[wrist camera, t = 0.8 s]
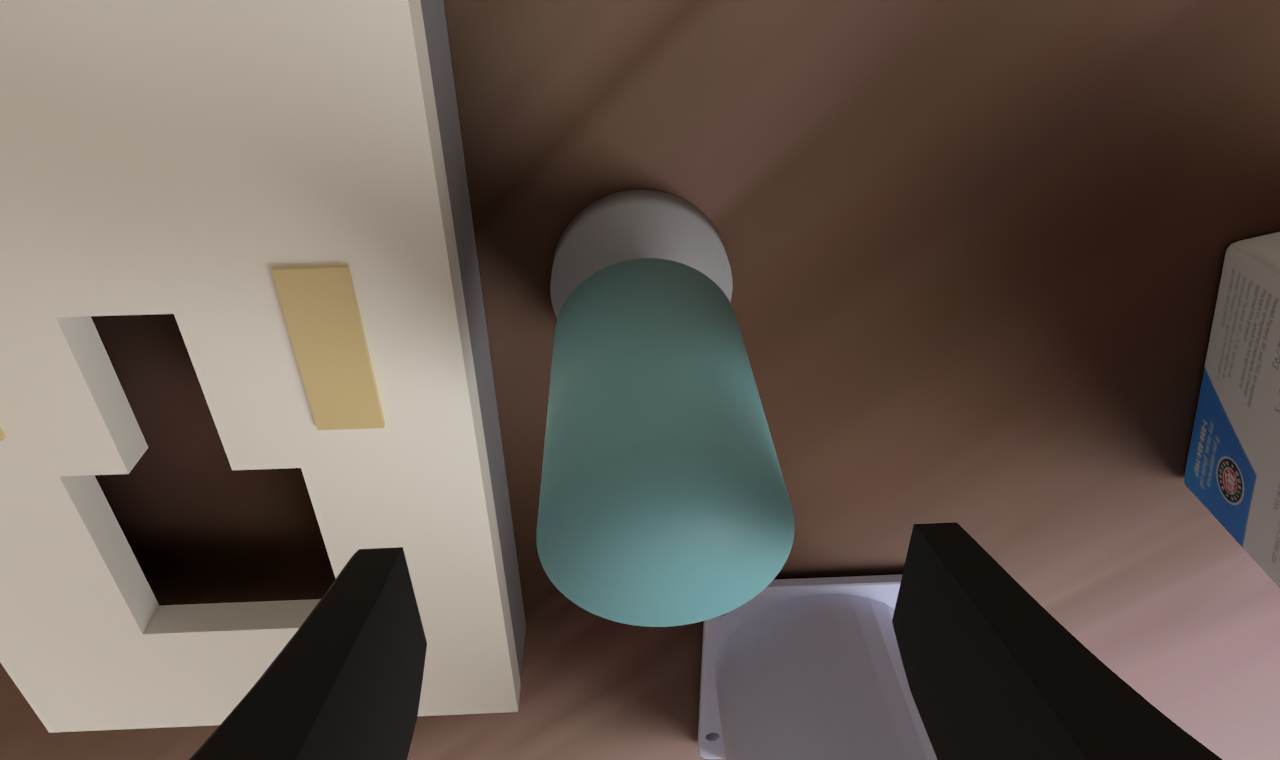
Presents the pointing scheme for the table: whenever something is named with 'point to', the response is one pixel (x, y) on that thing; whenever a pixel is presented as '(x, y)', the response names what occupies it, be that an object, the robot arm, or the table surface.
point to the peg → (654, 423)
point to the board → (243, 334)
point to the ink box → (1243, 404)
